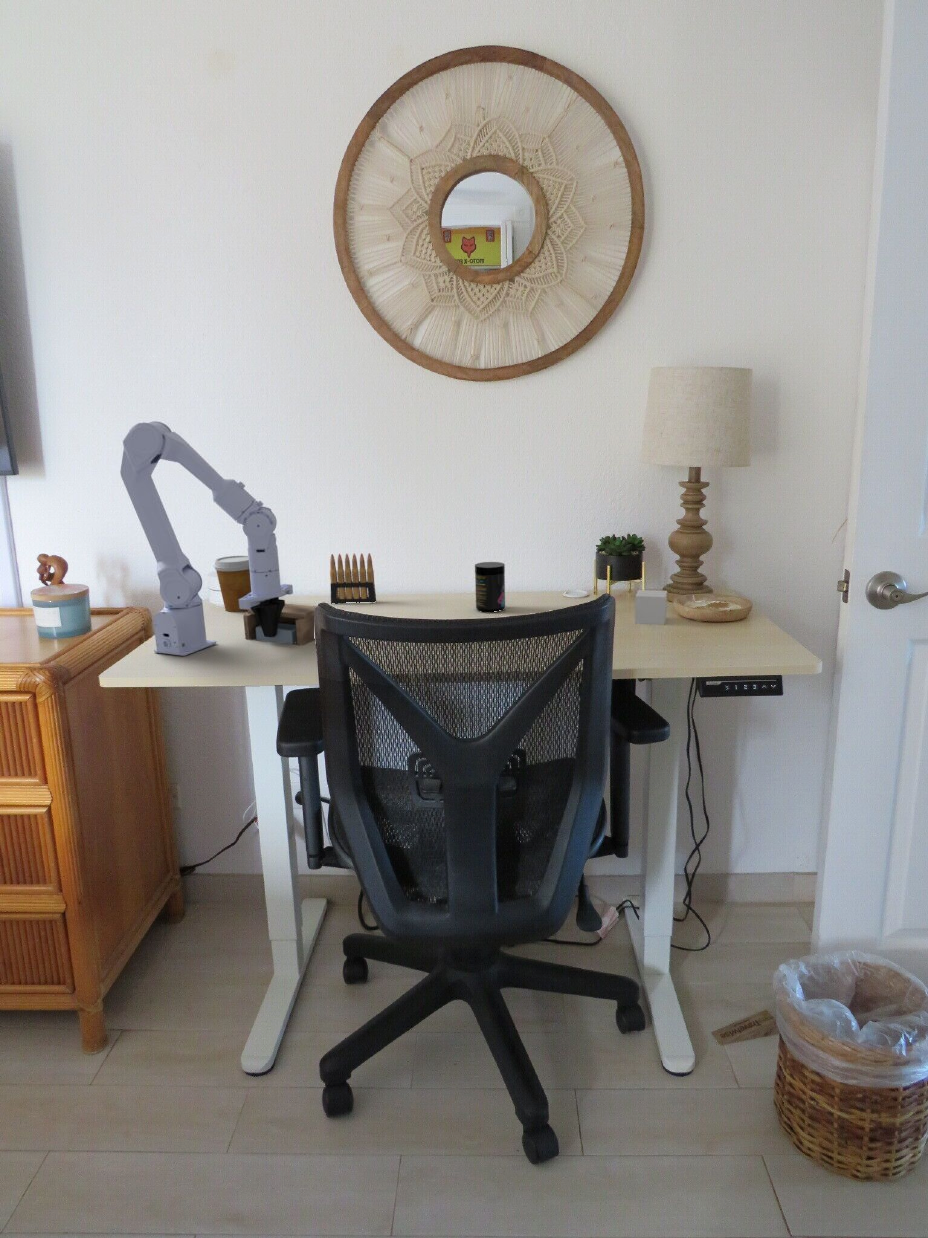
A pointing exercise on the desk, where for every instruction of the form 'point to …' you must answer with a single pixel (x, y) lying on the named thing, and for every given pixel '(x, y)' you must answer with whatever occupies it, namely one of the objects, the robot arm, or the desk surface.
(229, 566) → the disposable coffee cup
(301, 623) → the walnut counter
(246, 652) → the desk surface
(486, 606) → the supplement container
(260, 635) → the grey tray
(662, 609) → the grey cube
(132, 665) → the desk surface
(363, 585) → the ammunition clip
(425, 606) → the desk surface
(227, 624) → the desk surface
